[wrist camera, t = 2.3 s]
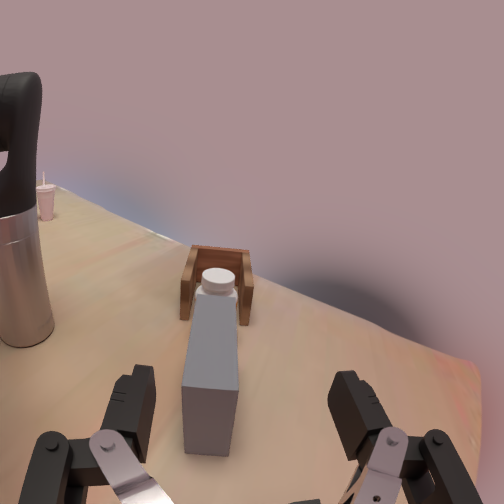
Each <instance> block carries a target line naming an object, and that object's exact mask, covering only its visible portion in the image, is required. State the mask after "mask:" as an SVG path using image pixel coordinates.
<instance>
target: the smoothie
mask: <svg viewBox="0 0 504 504" xmlns="http://www.w3.org/2000/svg"><path fill="white" fill-rule="evenodd" d="M55 189H56V186H55V185H45V175H44V172H43V185H41V186H38V187H36V192H37V197H38V203H39V209H40V214H41V219H42V221H50V220H52V219H53V207H54V193H55Z"/></svg>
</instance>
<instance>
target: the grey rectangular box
mask: <svg viewBox="0 0 504 504" xmlns="http://www.w3.org/2000/svg"><path fill="white" fill-rule="evenodd" d="M238 392H239V383H238V356H237V326H236V297H225V296H214V295H204V294H197V298H196V304H195V309H194V314H193V320H192V326H191V331H190V337H189V343H188V349H187V355H186V361H185V367H184V373H183V380H182V413H183V432H184V448H185V453H188V454H199V455H211V456H228V455H229V449H230V442H231V436H232V430H233V424H234V418H235V411H236V405H237V399H238Z"/></svg>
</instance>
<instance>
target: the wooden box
mask: <svg viewBox="0 0 504 504" xmlns="http://www.w3.org/2000/svg"><path fill="white" fill-rule="evenodd" d="M210 268H222V269H226V270H229V271H231V272H232V273H233V274H234V275H235V286H238V295H239V317H240V325H247V326H248V323H249V316H250V309H251V303H252V296H253V289H254V284H253V277H252V270H251V262H250V255H249V250H241V249H230V248H220V247H210V246H199V245H192V247H191V250H190V253H189V256H188V259H187V262H186V265H185V269H184V272H183V275H182V278H181V297H180V319H181V320H189V315H190V310H191V305H192V300H193V295H194V290H195V286H196V282H201V280H202V273H203V272H204V271H205V270H207V269H210Z"/></svg>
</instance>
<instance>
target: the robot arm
mask: <svg viewBox="0 0 504 504" xmlns="http://www.w3.org/2000/svg"><path fill="white" fill-rule="evenodd" d="M41 104H42V84H41V80H40V77H39V76H38V74H37V73H34V72H23V73H15V74H7V75H1V76H0V152H3V151H9V152H8V159H7V163H6V165H5V167H4V168H3V169H2V170H1V171H0V336H1V339H2V340H3V341H4V342H5V343H7V344H8V345H11V346H14V347H27V346H32V345H35V344H37V343H39V342H41V341H43V340H44V339H45V338H47V337H48V336H49V335H50V334H51V332H52V330H53V328H54V318H53V314H52V310H51V305H50V300H49V295H48V290H47V285H46V279H45V273H44V267H43V261H42V254H41V246H40V238H39V228H38V217H37V203H36V202H37V200H36V151H37V139H38V130H39V121H40V113H41ZM155 403H156V387H155V379H154V370H153V366H146V365H137V364H136V365H135V366H134V369H133V373H132V376H130V375H122V376H121V377H120V378H119V379H118V380H117V381H116V383H115V386H114V389H113V393H112V394H111V398H110V401H109V404H108V407H107V410H106V413H105V416H104V419H103V423H102V426H101V428H100V430H99V431H97V432H96V433H94V434H93V435H92V436H91V437H90V438H86V439H73V440H67V438H66V437H65V436H64V435H63V434H61V433H59V432H55V431H49V432H45V433H43V434H42V435H40V436H39V438H38V439H37V442H36V445H35V447H34V450H33V454H32V457H31V460H30V463H29V466H28V470H27V473H26V476H25V480H24V483H23V487H22V491H21V495H20V499H19V503H18V504H86V499H87V492H88V486H101V485H110V486H111V487H112V489H113V490H114V492H115V494H116V495H117V497H118V498H119V500H120V501H121V503H122V504H174V503H173V502H172V501H171V499H170V498H169V497H168V496H167V494H166V493H165V492H164V491H163V489H162V488H161V487H160V486H159V484H158V483H157V482H156V481H155V479H154V478H153V477H150V476H149V475H148V474H147V472H146V471H145V469H144V468H143V467H142V465H141V464H140V463H146V457H147V450H148V444H149V438H150V432H151V426H152V420H153V414H154V409H155ZM328 407H329V409H330V412H331V415H332V418H333V420H334V423H335V426H336V428H337V431H338V434H339V437H340V439H341V442H342V445H343V447H344V450H345V453H346V456H347V459H348V461H351V460H356V459H357V460H358V463H359V464H358V465H357V467H356V469H355V471H354V474H353V476H352V478H351V480H350V482H349V484H348V486H347V488H346V490H345V492H344V494H343V496H342V498H341V499H340V501H339V502H338V504H395V502H396V499H397V496H398V493H399V490H400V487H401V485H402V487H403V490H404V493H405V496H406V498H407V501H408V504H483V503H482V501H481V499H480V497H479V495H478V492H477V490H476V488H475V486H474V484H473V482H472V480H471V478H470V476H469V474H468V472H467V470H466V468H465V466H464V464H463V462H462V460H461V459H460V457H459V455H458V453H457V451H456V449H455V447H454V445H453V444H452V442H451V440H450V438H449V436H448V435H447V434H446V433H445V432H443V431H441V430H438V429H433V430H430V431H428V432H427V433H426V434H425V436H424V437H414V436H407V435H406V433H405V432H404V431H402V430H401V429H399V428H396V427H393V426H392V424H391V422H390V420H389V419H388V417H387V415H386V413H385V411H384V409H383V407H382V405H381V403H379V400H378V398H377V397H376V394H375V392H374V390H373V389H372V387H371V386H370V385H369V384H368V383H366V382H365V381H364V380H361V381H360V380H359V378H358V376H357V374H356V372H355V371H353V370H351V371H338V372H337V373H336V375H335V378H334V381H333V383H332V386H331V388H330V391H329V394H328ZM429 471H430V473H431V475H430V473H429ZM431 476H432V477H431ZM432 478H433V480H434V482H435V484H434V482H433V480H432ZM290 504H321V503H320V499H314V500H307V501H299V502H293V503H290Z"/></svg>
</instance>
